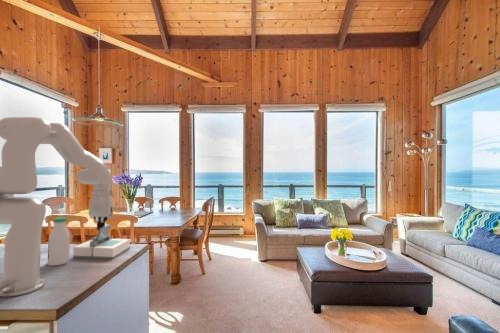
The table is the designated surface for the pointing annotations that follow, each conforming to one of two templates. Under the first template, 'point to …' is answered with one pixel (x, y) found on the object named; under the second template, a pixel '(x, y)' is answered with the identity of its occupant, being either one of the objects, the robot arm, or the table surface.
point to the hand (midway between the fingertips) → (100, 229)
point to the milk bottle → (59, 243)
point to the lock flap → (102, 233)
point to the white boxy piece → (101, 248)
